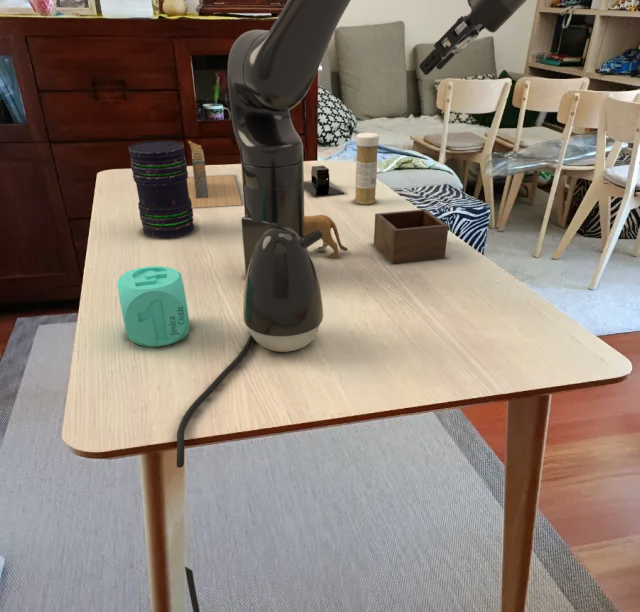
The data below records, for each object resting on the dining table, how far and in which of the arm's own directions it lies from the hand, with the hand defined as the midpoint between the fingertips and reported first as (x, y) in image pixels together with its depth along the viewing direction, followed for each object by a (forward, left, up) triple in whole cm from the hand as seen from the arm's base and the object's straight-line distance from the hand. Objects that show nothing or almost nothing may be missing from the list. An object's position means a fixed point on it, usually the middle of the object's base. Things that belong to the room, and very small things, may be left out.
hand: (429, 68), depth 112 cm
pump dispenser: (-63, -10, -26) cm, 68 cm away
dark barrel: (-38, +35, -26) cm, 57 cm away
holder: (-24, -9, -25) cm, 36 cm away
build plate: (+2, +26, -26) cm, 36 cm away
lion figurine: (-35, +6, -26) cm, 43 cm away
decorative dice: (-70, +6, -26) cm, 74 cm away
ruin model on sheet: (-14, +48, -26) cm, 56 cm away
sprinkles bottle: (-2, +12, -26) cm, 28 cm away
